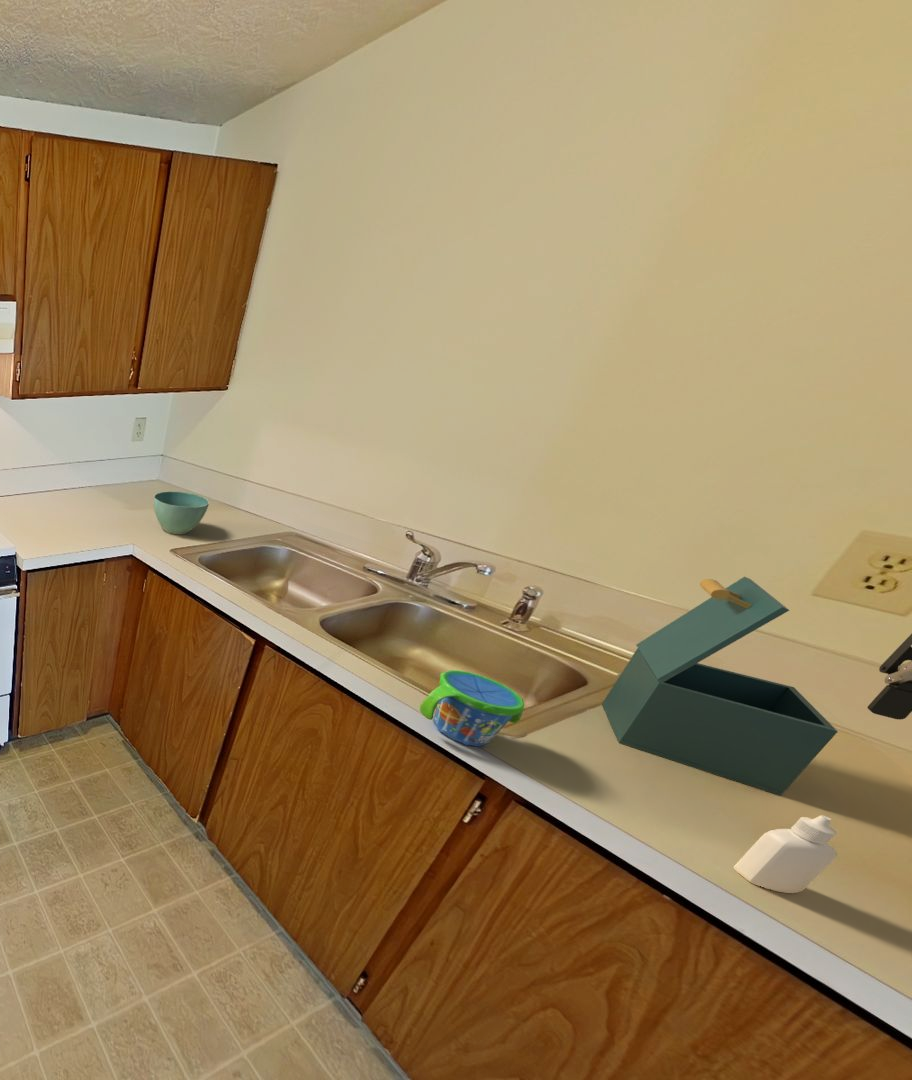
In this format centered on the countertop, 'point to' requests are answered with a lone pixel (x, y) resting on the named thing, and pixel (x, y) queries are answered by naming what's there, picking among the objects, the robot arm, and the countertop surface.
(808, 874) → the eye dropper bottle
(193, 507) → the green bowl
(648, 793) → the countertop surface
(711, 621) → the lid
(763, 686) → the chest
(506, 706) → the snack cup
